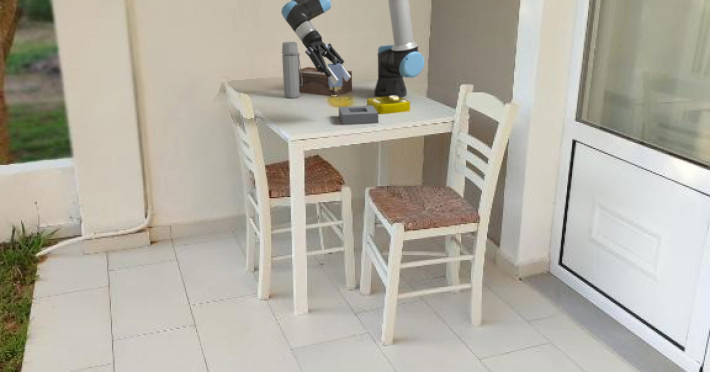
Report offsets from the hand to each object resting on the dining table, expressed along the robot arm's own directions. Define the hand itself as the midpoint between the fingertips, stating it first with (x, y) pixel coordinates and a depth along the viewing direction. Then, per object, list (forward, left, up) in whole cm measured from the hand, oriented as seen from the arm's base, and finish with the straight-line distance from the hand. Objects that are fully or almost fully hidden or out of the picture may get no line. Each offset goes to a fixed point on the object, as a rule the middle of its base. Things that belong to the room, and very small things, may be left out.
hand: (342, 80), depth 257 cm
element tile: (-22, -18, -17) cm, 33 cm away
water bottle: (+17, -52, -17) cm, 57 cm away
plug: (+2, -3, -4) cm, 5 cm away
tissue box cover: (+3, -62, -17) cm, 64 cm away
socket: (-6, -2, -16) cm, 18 cm away
